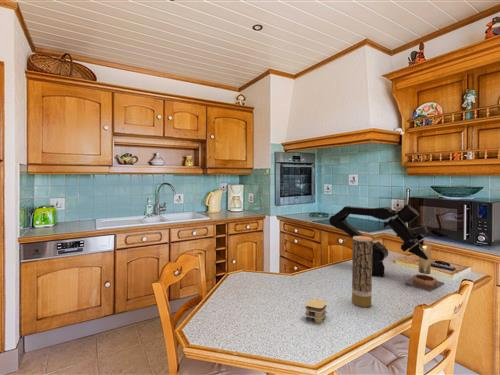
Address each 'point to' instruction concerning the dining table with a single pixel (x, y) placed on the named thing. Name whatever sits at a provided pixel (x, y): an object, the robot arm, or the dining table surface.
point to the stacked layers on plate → (316, 309)
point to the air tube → (425, 264)
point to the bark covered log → (362, 271)
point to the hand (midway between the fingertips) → (428, 258)
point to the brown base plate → (424, 282)
